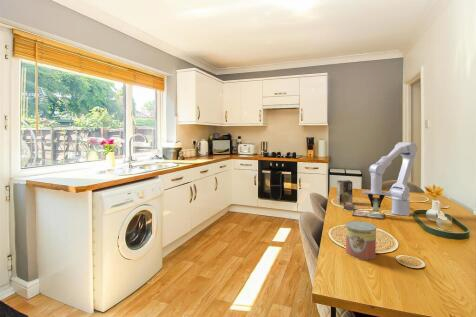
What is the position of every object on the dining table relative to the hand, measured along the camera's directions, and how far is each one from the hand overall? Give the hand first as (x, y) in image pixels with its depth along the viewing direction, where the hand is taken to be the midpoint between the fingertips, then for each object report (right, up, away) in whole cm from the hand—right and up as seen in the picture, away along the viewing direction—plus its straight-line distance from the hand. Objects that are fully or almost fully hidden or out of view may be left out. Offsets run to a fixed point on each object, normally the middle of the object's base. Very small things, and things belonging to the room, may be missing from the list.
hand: (375, 207), depth 157 cm
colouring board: (-3, -6, +3) cm, 7 cm away
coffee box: (-6, -3, +33) cm, 33 cm away
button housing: (-9, -4, +17) cm, 20 cm away
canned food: (-32, -11, -48) cm, 58 cm away
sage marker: (0, -2, 0) cm, 2 cm away
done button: (-9, -3, +17) cm, 19 cm away
